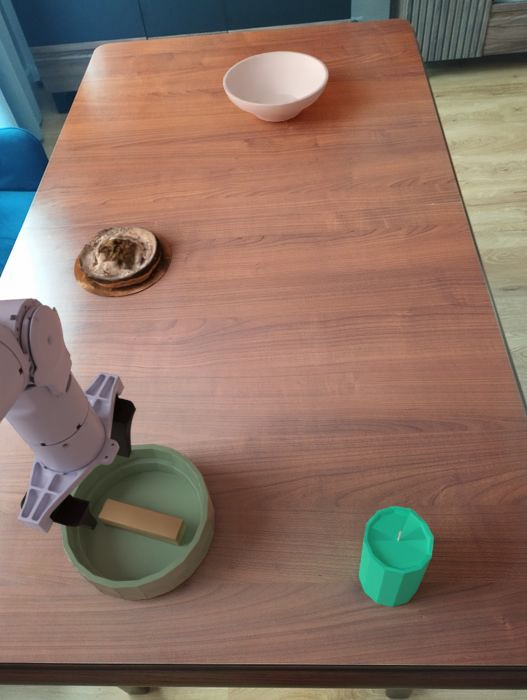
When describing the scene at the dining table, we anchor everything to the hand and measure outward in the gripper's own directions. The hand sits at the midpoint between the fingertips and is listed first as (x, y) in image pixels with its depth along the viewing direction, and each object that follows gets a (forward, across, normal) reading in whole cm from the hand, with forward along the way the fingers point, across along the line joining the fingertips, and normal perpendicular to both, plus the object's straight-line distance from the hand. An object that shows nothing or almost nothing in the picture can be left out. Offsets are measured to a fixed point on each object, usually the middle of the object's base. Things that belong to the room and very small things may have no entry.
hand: (104, 487), depth 57 cm
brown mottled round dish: (+10, +38, +19) cm, 44 cm away
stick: (+9, 0, -2) cm, 9 cm away
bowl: (+10, +83, +7) cm, 84 cm away
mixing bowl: (+9, 0, -2) cm, 10 cm away
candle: (+10, +2, -28) cm, 30 cm away
